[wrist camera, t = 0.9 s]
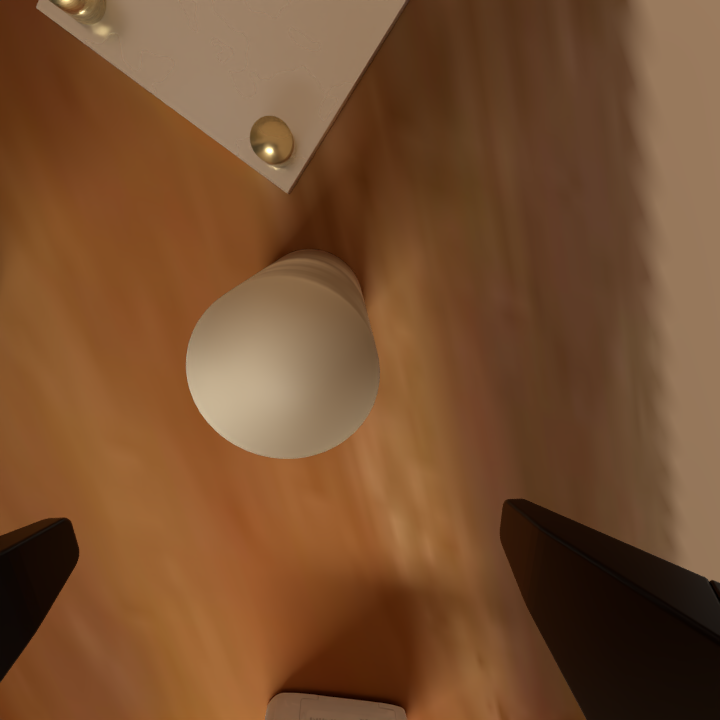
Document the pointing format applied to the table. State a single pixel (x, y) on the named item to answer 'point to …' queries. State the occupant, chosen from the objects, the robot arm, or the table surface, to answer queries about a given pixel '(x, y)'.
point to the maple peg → (286, 358)
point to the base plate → (241, 65)
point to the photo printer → (329, 708)
